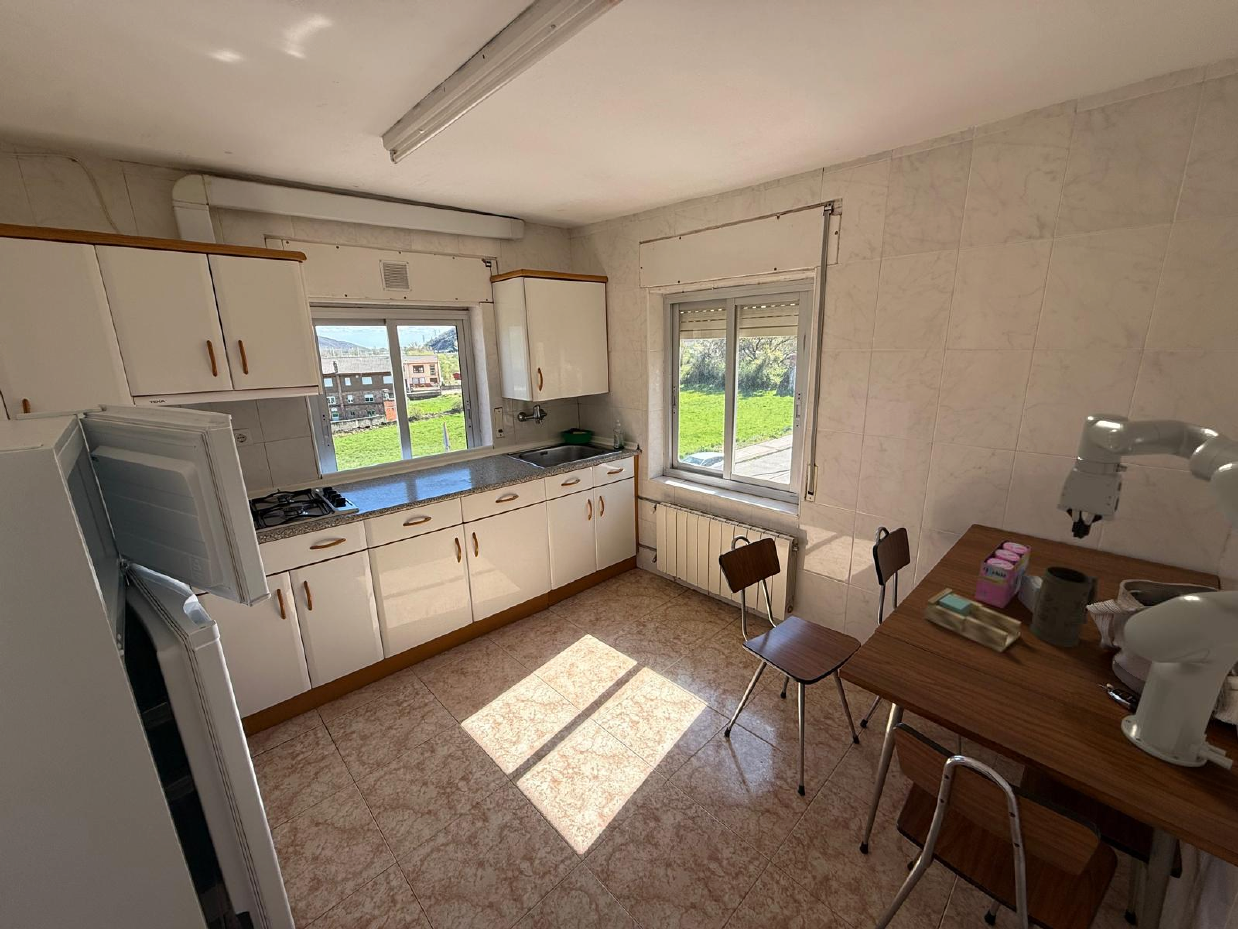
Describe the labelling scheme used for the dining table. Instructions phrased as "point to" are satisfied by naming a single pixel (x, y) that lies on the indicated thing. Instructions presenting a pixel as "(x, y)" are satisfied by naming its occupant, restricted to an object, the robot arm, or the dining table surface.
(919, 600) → the dining table surface
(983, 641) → the chute
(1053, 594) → the beer stein
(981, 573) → the gum box
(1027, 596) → the medicine box
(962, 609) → the block
